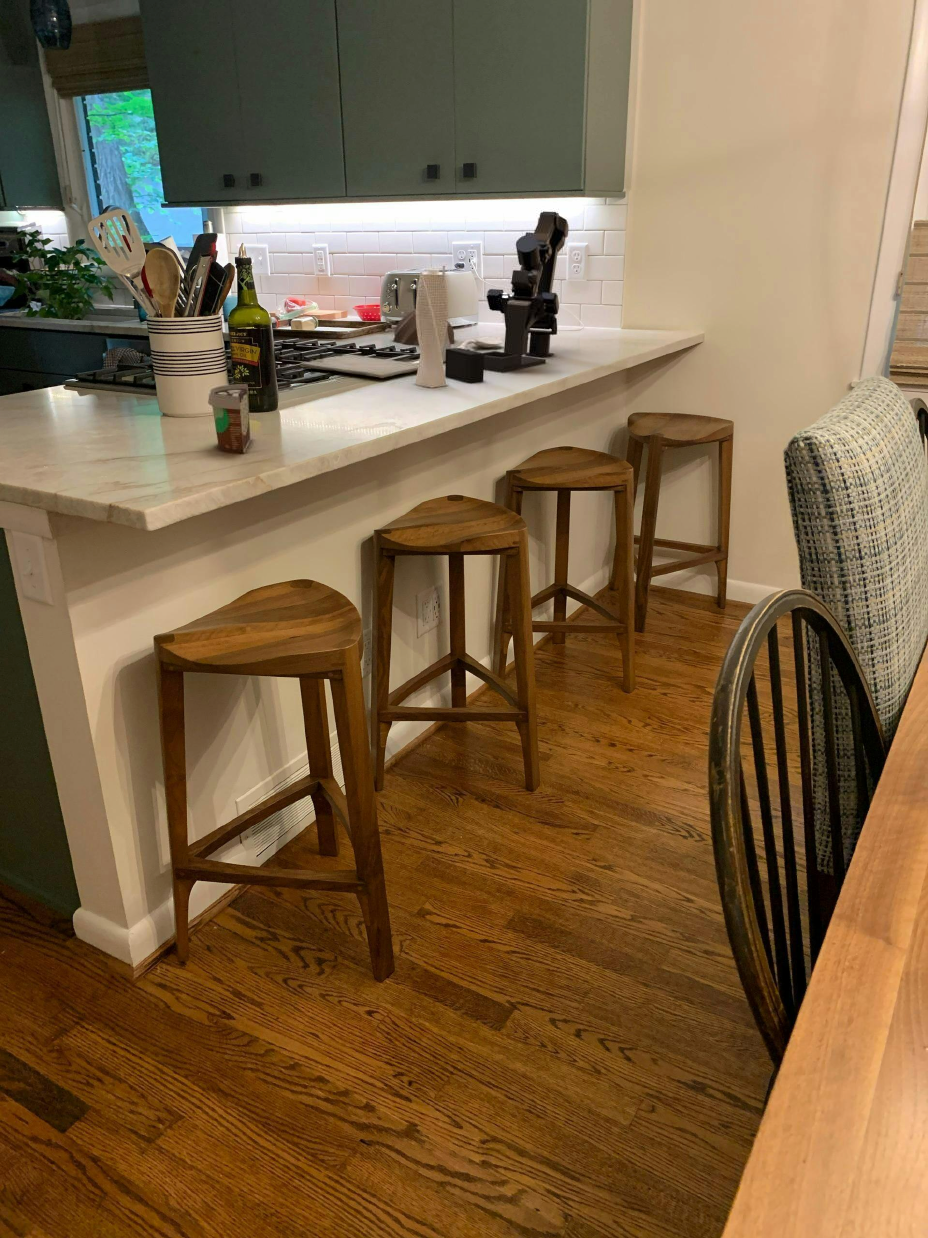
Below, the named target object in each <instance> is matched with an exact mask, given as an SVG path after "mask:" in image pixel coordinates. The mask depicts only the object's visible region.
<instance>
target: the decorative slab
mask: <svg viewBox="0 0 928 1238" xmlns="http://www.w3.org/2000/svg"><path fill="white" fill-rule="evenodd" d="M299 366H300V367H301V368H304V369H305V368H306V369H314V370H322V371H333V372H339V373H346V374H353V375H361V376H367V377H376V378H380V379H384V378H388V377H393V376H396V375H401V374H406V373H410V372H411V373H412V372H415V371H418V366H419V363H416V362H415V363H414V362H408V361H407V362H406V361H402V360H401V361H400V360H393V359H384V358H376V357H370V356H369V357H368V356H362V355H356V354H345V355H341V356H331V357H324V358H316V359H315V360H313V361H303V362H300V363H299Z"/></svg>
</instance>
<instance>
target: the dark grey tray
mask: <svg viewBox="0 0 928 1238" xmlns="http://www.w3.org/2000/svg"><path fill="white" fill-rule="evenodd" d="M483 353H484V371H490V372H496V373H505V372H511V371H515V370H521V369H524V368H529V367H533V366H538V365H539V366H540V365H543V364H546V362H547V359H545V358H540V357H539V358H538V357H531V356H524V355H514V354H505V353H504V351H496V350H491V351H485V352H483Z"/></svg>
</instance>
